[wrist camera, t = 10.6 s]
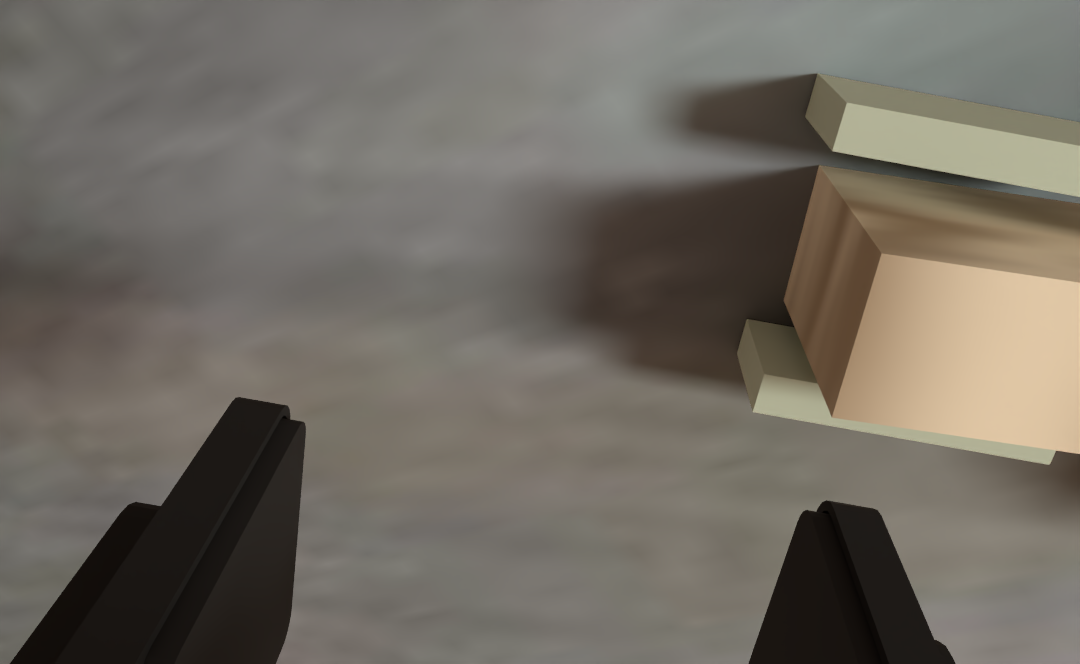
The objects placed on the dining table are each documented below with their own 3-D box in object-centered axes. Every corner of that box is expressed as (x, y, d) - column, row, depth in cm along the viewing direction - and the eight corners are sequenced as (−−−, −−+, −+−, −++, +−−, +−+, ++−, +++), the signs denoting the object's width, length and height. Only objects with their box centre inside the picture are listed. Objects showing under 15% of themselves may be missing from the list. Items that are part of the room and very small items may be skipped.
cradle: (736, 353, 26) (752, 412, 23) (817, 73, 23) (847, 102, 20) (1002, 401, 26) (1049, 464, 23) (1118, 129, 23) (1188, 166, 20)
